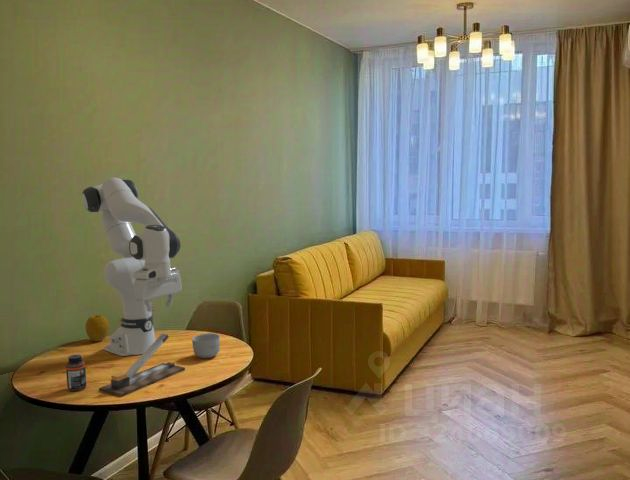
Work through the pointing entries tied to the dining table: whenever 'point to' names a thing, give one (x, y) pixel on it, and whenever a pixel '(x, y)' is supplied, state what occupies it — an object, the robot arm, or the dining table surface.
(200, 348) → the teacup
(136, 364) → the tongs arm
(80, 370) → the supplement bottle
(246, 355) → the dining table surface
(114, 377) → the tab
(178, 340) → the dining table surface
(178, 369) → the board
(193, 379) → the dining table surface
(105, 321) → the apple
